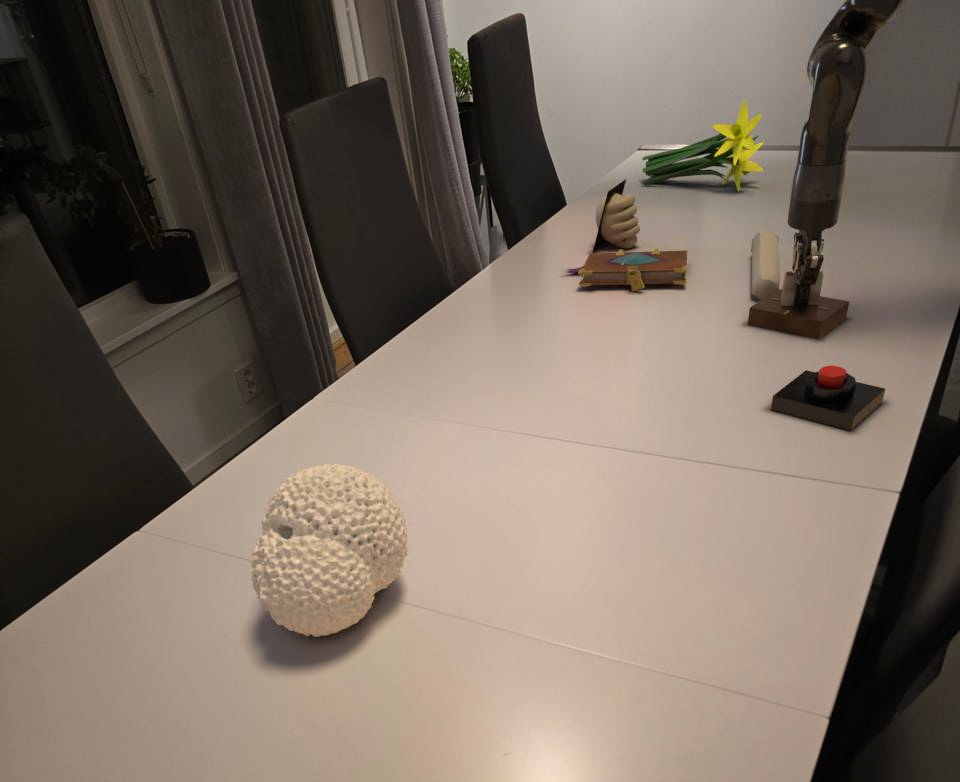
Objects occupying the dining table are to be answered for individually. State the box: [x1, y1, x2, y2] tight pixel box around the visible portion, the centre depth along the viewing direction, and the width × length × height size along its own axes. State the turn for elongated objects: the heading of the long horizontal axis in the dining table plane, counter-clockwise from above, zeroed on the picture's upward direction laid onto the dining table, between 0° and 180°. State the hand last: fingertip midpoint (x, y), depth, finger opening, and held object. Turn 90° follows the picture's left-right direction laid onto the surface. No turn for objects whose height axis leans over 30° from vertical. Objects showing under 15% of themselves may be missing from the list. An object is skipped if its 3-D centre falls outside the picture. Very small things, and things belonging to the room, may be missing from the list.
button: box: [817, 365, 847, 387], centre depth 118 cm, size 4×4×2 cm
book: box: [567, 248, 688, 292], centre depth 166 cm, size 16×25×5 cm, turn 77°
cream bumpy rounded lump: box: [250, 463, 409, 638], centre depth 93 cm, size 20×18×16 cm
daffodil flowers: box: [641, 98, 764, 193], centre depth 206 cm, size 17×15×35 cm
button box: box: [770, 369, 886, 432], centre depth 119 cm, size 12×10×4 cm
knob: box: [780, 270, 825, 306], centre depth 140 cm, size 6×2×5 cm, turn 81°
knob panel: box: [747, 288, 850, 340], centre depth 143 cm, size 13×10×3 cm
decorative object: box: [592, 178, 641, 253], centre depth 179 cm, size 13×10×10 cm
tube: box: [750, 230, 781, 301], centre depth 159 cm, size 5×5×25 cm
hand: (799, 303), depth 142 cm, fingers closed, pressing on knob
